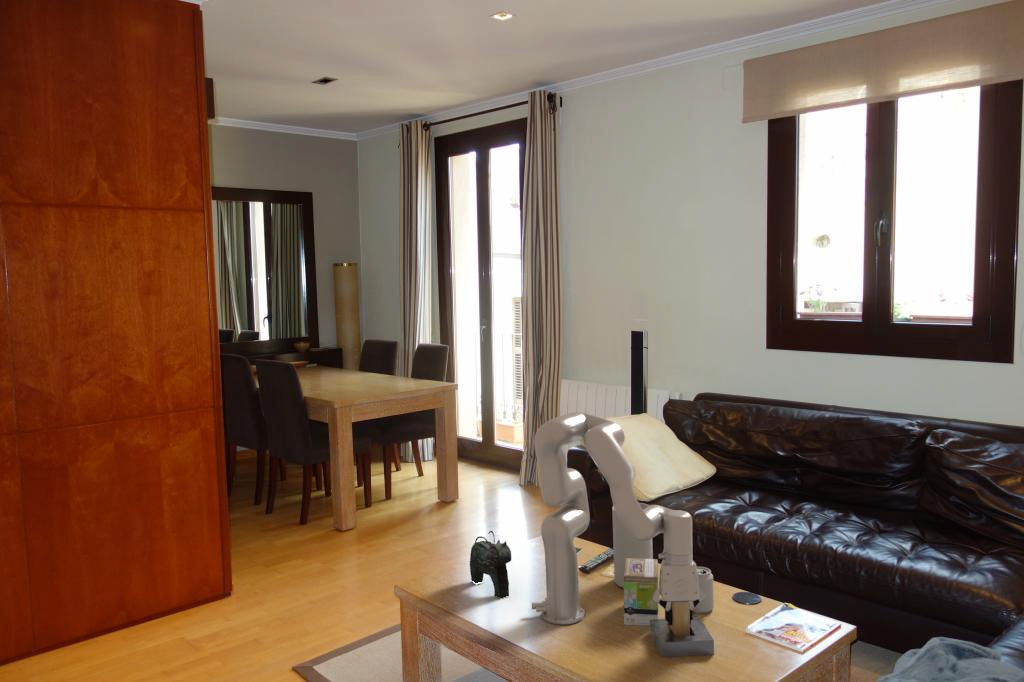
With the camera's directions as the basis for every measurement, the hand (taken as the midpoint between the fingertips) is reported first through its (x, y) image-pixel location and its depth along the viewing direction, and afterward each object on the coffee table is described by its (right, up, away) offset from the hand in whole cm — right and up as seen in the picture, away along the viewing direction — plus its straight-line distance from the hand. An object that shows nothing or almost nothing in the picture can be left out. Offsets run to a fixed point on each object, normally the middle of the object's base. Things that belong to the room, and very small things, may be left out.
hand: (678, 622), depth 212 cm
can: (+11, -4, +21) cm, 24 cm away
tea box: (-7, -5, +19) cm, 21 cm away
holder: (+1, -6, 0) cm, 6 cm away
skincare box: (0, -6, 0) cm, 6 cm away
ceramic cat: (-52, -5, +42) cm, 67 cm away
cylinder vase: (-6, -3, +43) cm, 43 cm away
